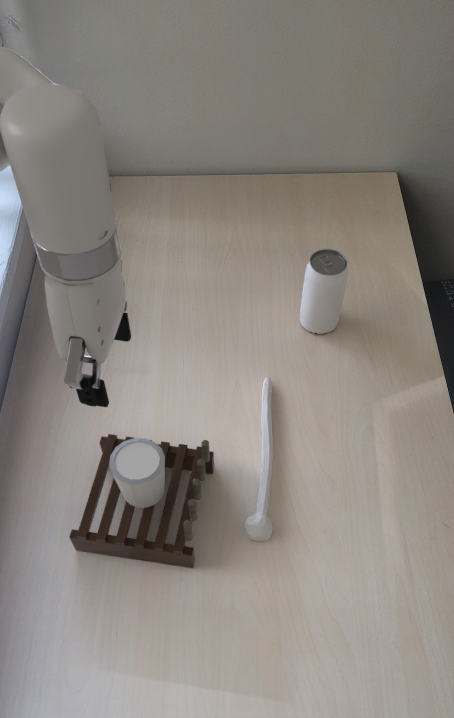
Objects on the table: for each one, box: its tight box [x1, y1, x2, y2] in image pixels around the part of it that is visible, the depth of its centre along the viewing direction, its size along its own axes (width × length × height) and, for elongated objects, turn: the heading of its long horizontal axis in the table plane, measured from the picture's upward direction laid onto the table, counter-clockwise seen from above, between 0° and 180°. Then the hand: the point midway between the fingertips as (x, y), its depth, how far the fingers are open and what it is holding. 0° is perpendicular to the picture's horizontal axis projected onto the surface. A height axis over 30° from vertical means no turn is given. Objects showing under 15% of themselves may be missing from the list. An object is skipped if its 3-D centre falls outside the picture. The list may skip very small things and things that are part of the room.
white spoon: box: [242, 376, 275, 542], centre depth 91 cm, size 28×4×3 cm, turn 178°
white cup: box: [109, 437, 166, 509], centre depth 81 cm, size 7×7×7 cm
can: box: [298, 248, 349, 335], centre depth 100 cm, size 6×6×12 cm
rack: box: [68, 433, 215, 569], centre depth 85 cm, size 16×16×9 cm
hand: (106, 369), depth 73 cm, fingers open, 9 cm apart
